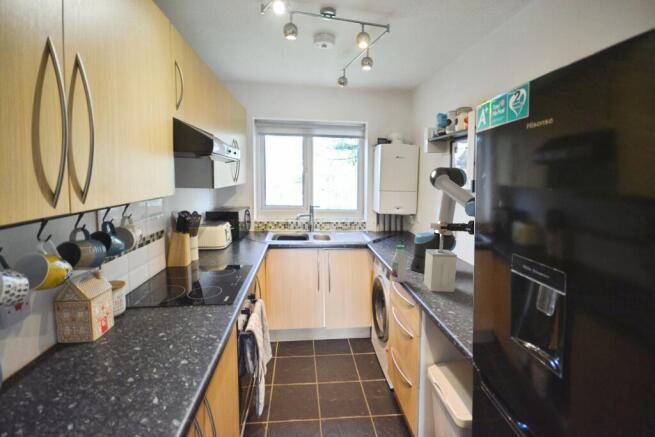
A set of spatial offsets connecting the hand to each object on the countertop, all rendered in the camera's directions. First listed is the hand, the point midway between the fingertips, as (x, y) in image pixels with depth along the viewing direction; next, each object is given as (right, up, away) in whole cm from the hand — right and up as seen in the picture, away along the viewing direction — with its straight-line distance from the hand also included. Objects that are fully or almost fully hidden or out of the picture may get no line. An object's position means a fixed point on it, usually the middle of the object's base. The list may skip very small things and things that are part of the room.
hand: (432, 226), depth 166 cm
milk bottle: (-14, -31, +14) cm, 37 cm away
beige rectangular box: (+4, -33, +2) cm, 33 cm away
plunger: (+5, -23, +3) cm, 24 cm away
